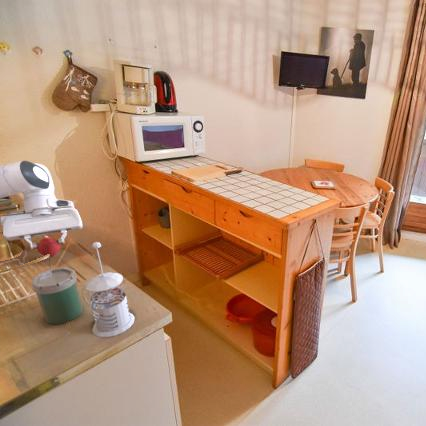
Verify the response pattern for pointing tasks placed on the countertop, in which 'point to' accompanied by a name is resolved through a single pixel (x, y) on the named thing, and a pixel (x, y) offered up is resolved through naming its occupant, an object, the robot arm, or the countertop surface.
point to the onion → (48, 246)
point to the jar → (58, 295)
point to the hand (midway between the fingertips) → (48, 246)
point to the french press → (108, 303)
